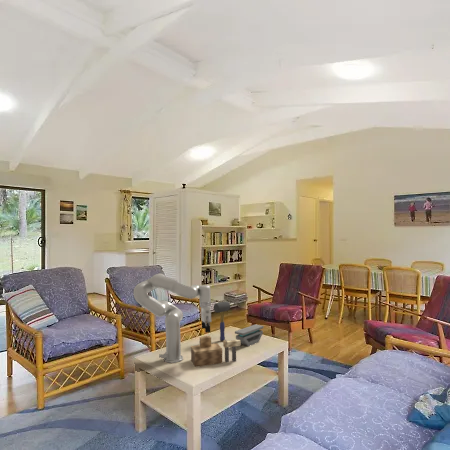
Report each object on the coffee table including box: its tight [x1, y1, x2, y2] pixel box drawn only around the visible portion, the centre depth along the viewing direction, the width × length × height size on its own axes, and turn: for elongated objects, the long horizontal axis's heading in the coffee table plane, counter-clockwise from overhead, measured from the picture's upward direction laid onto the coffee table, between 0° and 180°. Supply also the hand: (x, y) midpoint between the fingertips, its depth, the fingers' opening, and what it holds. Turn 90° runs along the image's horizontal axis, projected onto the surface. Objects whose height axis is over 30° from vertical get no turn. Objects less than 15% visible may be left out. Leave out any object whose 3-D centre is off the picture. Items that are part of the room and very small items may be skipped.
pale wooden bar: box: [222, 339, 242, 349], centre depth 222 cm, size 11×3×4 cm, turn 107°
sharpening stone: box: [234, 324, 265, 347], centre depth 257 cm, size 25×8×11 cm, turn 137°
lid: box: [190, 335, 223, 354], centre depth 222 cm, size 18×12×8 cm, turn 107°
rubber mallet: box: [213, 301, 231, 342], centre depth 264 cm, size 12×8×30 cm, turn 131°
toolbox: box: [190, 346, 237, 368], centre depth 223 cm, size 28×12×10 cm, turn 107°
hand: (205, 330), depth 224 cm, fingers open, 9 cm apart
